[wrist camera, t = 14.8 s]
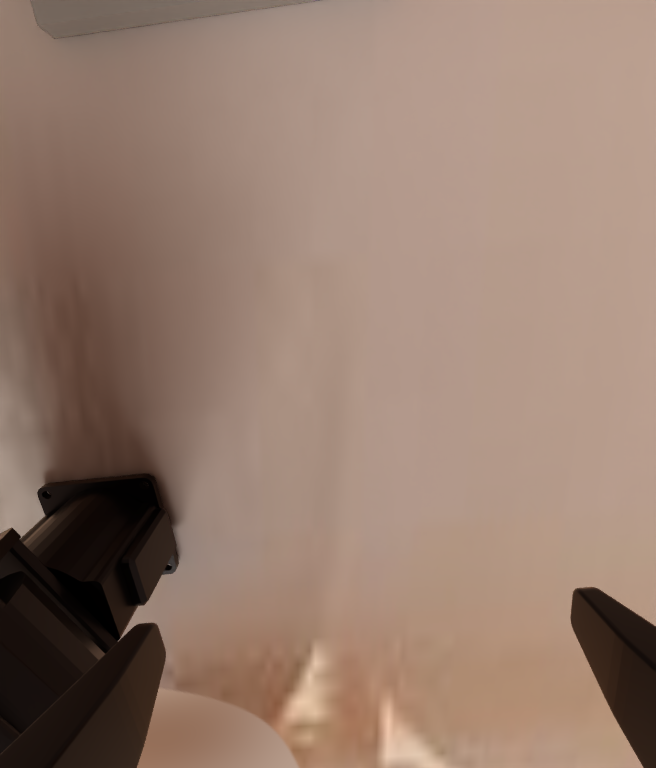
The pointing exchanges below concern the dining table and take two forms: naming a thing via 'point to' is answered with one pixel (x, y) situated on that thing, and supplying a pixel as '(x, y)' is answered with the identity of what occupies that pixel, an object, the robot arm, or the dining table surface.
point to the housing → (132, 13)
